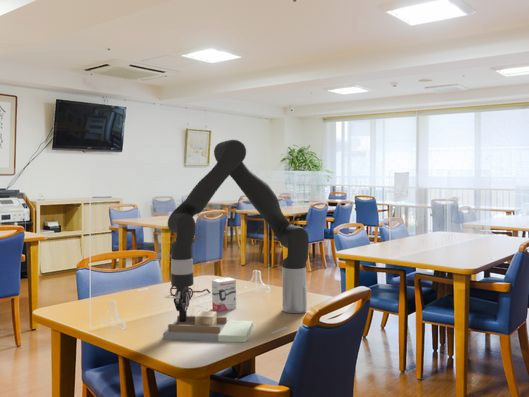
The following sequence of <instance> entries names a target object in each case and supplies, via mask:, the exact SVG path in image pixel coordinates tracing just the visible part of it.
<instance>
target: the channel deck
mask: <svg viewBox="0 0 529 397" xmlns="http://www.w3.org/2000/svg"><path fill="white" fill-rule="evenodd" d="M195 316H196V315H187V320H186V322H180V321H179V314H178V315H177V316H176V320H175V321H174V322H172V324H171V323H170V324H168V325H167V329H166V330H165V331H164V332H163V333H162V337H163V338H162V340H169V339H172V340H174V341H201V342H202V341H203V342H204V341H205V342H225V343H226V342H228V343H229V342H231V343H232V342H233V343H247V340H248V339H249V336H250V335H251V333H252V330H253V329H254V321H253V320H229V319H228V317H227V316H217V325H216V326H212V325H195Z"/></svg>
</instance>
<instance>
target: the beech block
mask: <svg viewBox="0 0 529 397" xmlns="http://www.w3.org/2000/svg"><path fill="white" fill-rule="evenodd" d="M217 312H218V311H207V310H206V311H205V310H204V311H201V310H200V311H198V312H197V313H196V314H195V315H194V316H195V325H212V326H216V325H217V317H218V316H217Z"/></svg>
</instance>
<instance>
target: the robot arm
mask: <svg viewBox="0 0 529 397" xmlns="http://www.w3.org/2000/svg"><path fill="white" fill-rule="evenodd" d="M246 155H247V148H246V145H245V144H244V143H243V142H242V141H241V140H238V139H227V140H224V141H221V142H219V143H217V144H216V145H215V146H214V150H213V156H214V158H215V161H216V164H215V165H214V166H213V167H212V168H211V170H210V171H208V173H206V174H205V175H204V177H202V178H201V179H200V181H199V182H197V184H195V186H194V187H193V188H192V190H191V191H190V193H189V194H188V195H187V197H186V199H185V200H184V201H182V202H181V203H180V205H178V206H177V207H176V208H175V209H174V210H173V212H172V213H171V214H169V215H170V216H169V217H168V219H167V227H168V229H169V231H171V232H172V233H173V234H174V233H175V234H176V236H175V237H176V239H175V241H173V242H172V244H171V247H170V248H171V250H170V251H171V260H170V261H171V262H170V281H171V283H170V285H171V287H172V286H174V287H173V288H177V289H175V290H176V291H175V293H174V295H175V296H174V297H175V298H173V303H174V306H175V310H176V312H178V315H179V321H180V322H186V320H187V316H188V314H187V310H188V308H189V306H190V301H191V298H190V296H191V294H192V292H191V290H190V289H189V288H190V287H191V286H193V285H194V262H193V242H194V240H195V233H196V227H197V226H196V221H195V219H194V216H195V215H198V214H201V213H202V212H203V211H204V210H205V208H206V206H207V205H208V203H209V202H210V201H211V199H213V196H214V195H215V194H216V192H217V191H218V189H219V188H220V187H221V185H222V184H223V183H224V182H225V181H226V180H227V179H228V178H229V177H230V178H232V180H233V181H234V182H235V184H236V185H237V186H238V187H239V189H240V190H241V191H242V193H243V194H244V195H245V196H246V198H247V200H248V201H249V202H250V203H251V205H252V206H253V208H254V209H255V210H256V211H257V212H258V213H259V215H260V216H261V217H262V219H263V220H264V221H265V222H266V223H267V224H268V226H269V227H270V229H271V230H272V232H273V233H274V236H275V237H276V238H277V240H278V243H280V245H282V246H283V248H285V249H287V254H286V257H285V258H282V264H281V266H282V270H281V271H282V274H281V275H282V280H281V281H282V311H283V312H285V313H288V314H300V313H301V314H302V313H307V305H308V304H307V301H308V300H307V298H308V296H307V291H308V290H307V262H308V260H309V248H310V247H309V242H310V241H309V234H308V231H307V230H306V229H305V228H304V227H302V226H298V225H294V224H292V223H291V222H290V221H289V220H288V218H286V216H285V215H284V213H283V211H282V209H281V205H280V202H279V198H278V196H277V195H276V193H275V192H274V191H273V189H272V188H271V186H269V184H268V183H267V182H266V181H265V180H264V179H263V178H262V177H260V176H258V175H257V174H256V173H254V172H253V170H250V169H249V168H248V167H247V165H246V164H245V163H244V160H246V159H245V158H246Z"/></svg>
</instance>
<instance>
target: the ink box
mask: <svg viewBox="0 0 529 397" xmlns="http://www.w3.org/2000/svg"><path fill="white" fill-rule="evenodd" d="M211 294H212V295H211V298H212V310H214V311H215V312H221V311H222V312H223V311H227V310H235V309H237V280H236V279H235V278H232V277H222V278H217V279H213V280H211Z"/></svg>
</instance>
